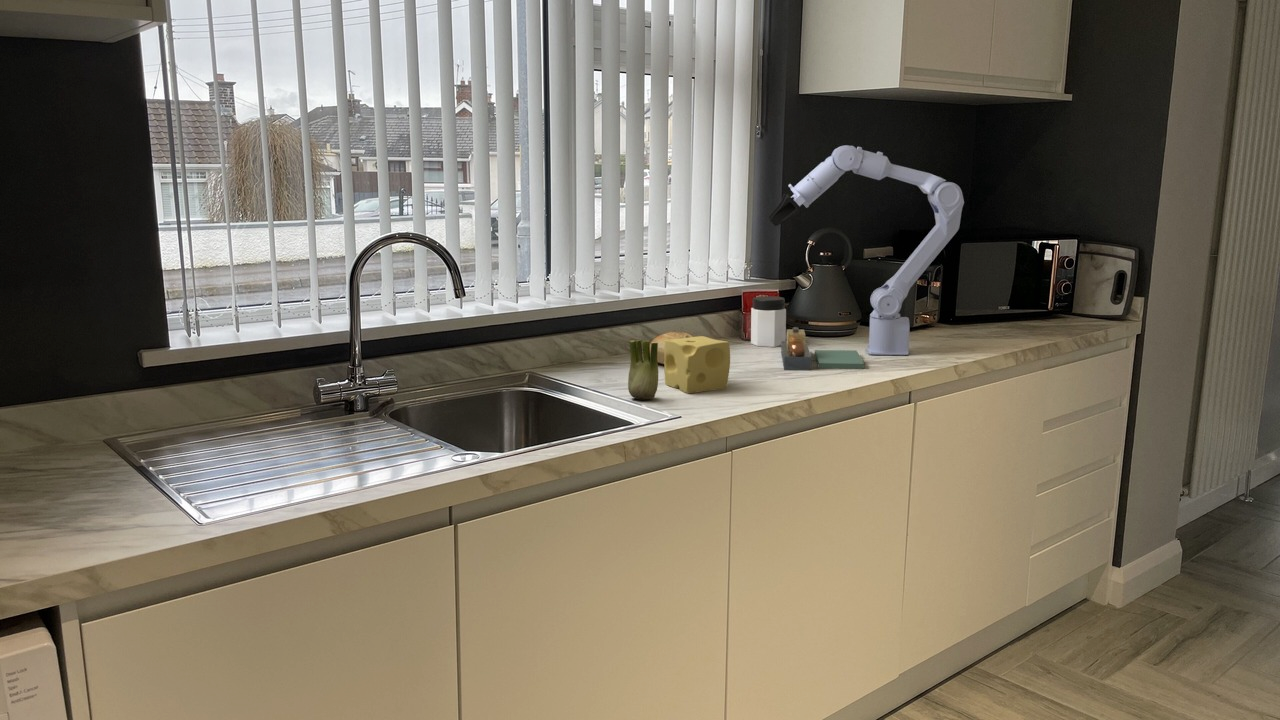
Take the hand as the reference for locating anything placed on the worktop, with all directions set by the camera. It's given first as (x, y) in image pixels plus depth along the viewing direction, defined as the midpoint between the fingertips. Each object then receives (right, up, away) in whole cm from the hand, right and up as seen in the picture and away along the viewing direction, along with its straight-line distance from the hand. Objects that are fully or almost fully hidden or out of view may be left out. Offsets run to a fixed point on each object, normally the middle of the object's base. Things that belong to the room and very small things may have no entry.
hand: (771, 222), depth 236 cm
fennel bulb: (-31, -41, -41) cm, 66 cm away
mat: (+15, -34, -7) cm, 38 cm away
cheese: (-20, -39, -31) cm, 54 cm away
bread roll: (-24, -35, -10) cm, 43 cm away
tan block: (+5, -31, -7) cm, 32 cm away
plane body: (+5, -34, -6) cm, 35 cm away
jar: (+1, -30, +16) cm, 34 cm away
